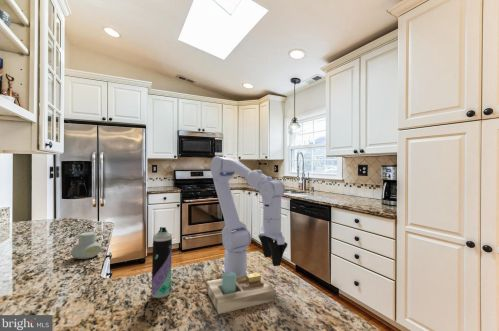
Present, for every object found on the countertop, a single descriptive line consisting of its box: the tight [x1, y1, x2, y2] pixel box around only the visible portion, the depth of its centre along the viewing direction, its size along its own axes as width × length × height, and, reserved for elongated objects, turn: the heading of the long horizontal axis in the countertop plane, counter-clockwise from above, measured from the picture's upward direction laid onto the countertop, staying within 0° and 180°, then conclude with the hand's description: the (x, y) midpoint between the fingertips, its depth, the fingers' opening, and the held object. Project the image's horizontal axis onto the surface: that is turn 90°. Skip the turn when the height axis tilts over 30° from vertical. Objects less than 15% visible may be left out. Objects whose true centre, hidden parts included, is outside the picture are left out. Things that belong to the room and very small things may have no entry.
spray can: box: [151, 226, 173, 299], centre depth 71 cm, size 6×6×20 cm
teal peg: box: [221, 272, 236, 295], centre depth 68 cm, size 4×4×7 cm
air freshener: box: [70, 231, 103, 260], centre depth 100 cm, size 11×8×10 cm
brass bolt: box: [246, 272, 262, 285], centre depth 71 cm, size 2×4×2 cm, turn 114°
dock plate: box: [206, 271, 276, 315], centre depth 70 cm, size 13×17×4 cm
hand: (271, 261), depth 74 cm, fingers open, 7 cm apart
